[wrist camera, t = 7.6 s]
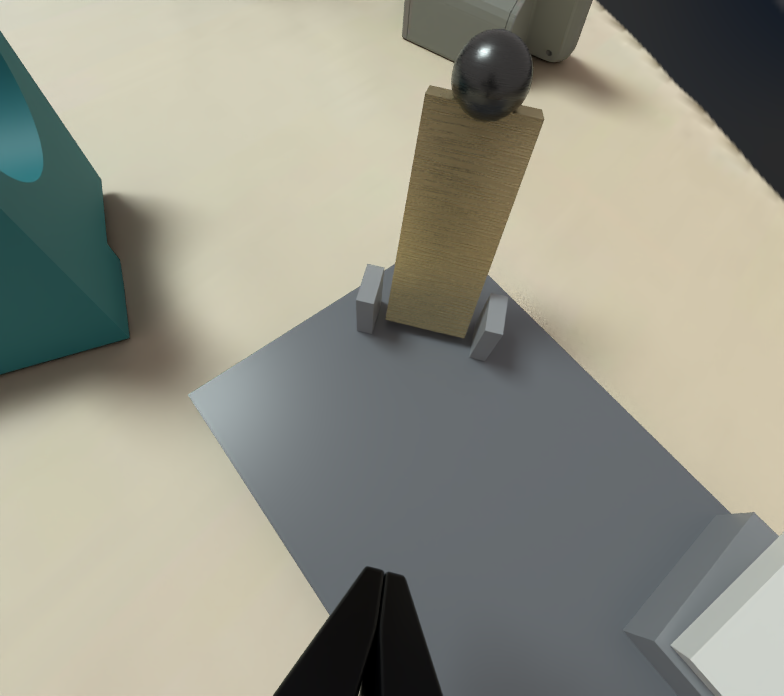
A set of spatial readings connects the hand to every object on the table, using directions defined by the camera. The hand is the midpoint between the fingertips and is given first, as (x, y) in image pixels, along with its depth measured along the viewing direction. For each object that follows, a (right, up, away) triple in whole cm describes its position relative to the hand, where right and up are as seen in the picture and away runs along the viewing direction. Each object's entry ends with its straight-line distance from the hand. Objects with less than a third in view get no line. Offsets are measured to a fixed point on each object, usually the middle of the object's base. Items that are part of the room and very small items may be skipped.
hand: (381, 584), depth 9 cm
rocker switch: (+13, -5, +7) cm, 16 cm away
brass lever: (+2, +6, +13) cm, 14 cm away
